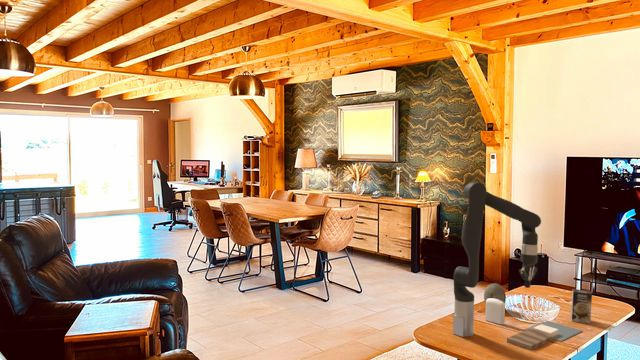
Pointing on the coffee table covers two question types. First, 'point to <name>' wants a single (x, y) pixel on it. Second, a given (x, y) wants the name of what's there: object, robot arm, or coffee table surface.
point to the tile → (546, 330)
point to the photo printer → (495, 311)
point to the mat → (564, 330)
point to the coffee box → (581, 306)
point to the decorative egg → (494, 292)
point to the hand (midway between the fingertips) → (527, 287)
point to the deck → (529, 339)
